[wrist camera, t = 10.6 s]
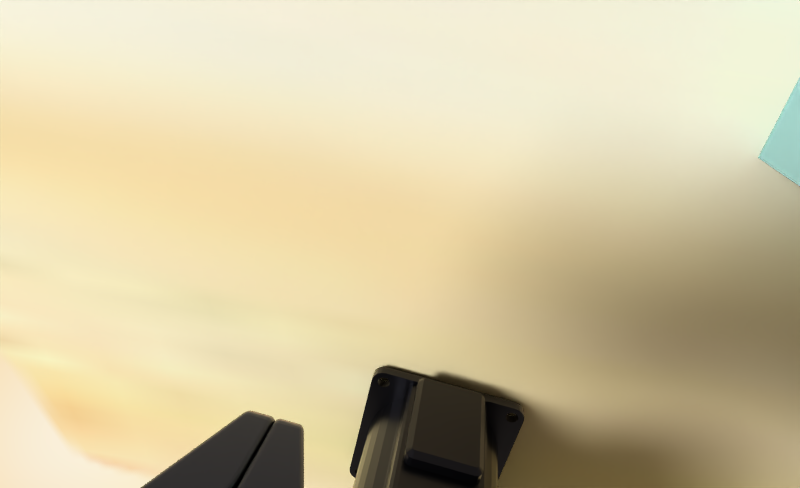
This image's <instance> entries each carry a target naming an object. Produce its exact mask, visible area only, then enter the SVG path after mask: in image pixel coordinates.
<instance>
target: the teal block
mask: <svg viewBox="0 0 800 488" xmlns="http://www.w3.org/2000/svg"><path fill="white" fill-rule="evenodd" d="M758 158H759V159H761V160H762V161H764V162H765V163H767V164H768V165H770V166H771V167H772V168H774V169H775V170H777V171H778V172H780V173H781V174H783V175H784V176H786V177H787V178H788V179H790V180H791V181H793V182H794V183H796V184H797V185H799V186H800V78H799V80H798V82H797V83H796V85H795V87H794V89H793V91H792V93H791V95H790V97H789V99H788V101H787V103H786V105H785V107H784V109H783V111H782V112H781V114H780V116H779V118H778V120H777V122H776V124H775V126H774V128H773V130H772V132H771V134H770V136H769V138H768V139H767V141H766V143H765V145H764V147H763V149H762V151H761V153H760V155H759V157H758Z"/></svg>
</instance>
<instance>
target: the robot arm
mask: <svg viewBox="0 0 800 488" xmlns="http://www.w3.org/2000/svg"><path fill="white" fill-rule="evenodd" d="M381 378H386V379H388V380H389V381H383V380H381ZM509 413H514V414H516V415H514V416H510V415H508V414H509ZM523 421H524V410H523V408H522V406H521V405H520V404H518V403H516V402H512V401H509V400H505V399H501V398H498V397H494V396H490V395H487V394H483V393H480V392H476V391H472V390H469V389H465V388H461V387H458V386H454V385H450V384H447V383H443V382H440V381H436V380H432V379H429V378H425V377H421V376H418V375H414V374H410V373H407V372H403V371H400V370H396V369H392V368H389V367H380V368H378V369H376V370H375V372H374V375H373V378H372V382H371V386H370V390H369V394H368V398H367V402H366V406H365V410H364V414H363V418H362V422H361V426H360V430H359V434H358V438H357V442H356V446H355V450H354V454H353V458H352V462H351V466H350V473H351V475H352V476H354V477H355V482H354V485H353V488H498V479H499V477H500V474H501V472H502V470H503V467H504V465H505V463H506V461H507V458H508V456H509V454H510V451H511V449H512V447H513V444H514V442H515V440H516V437H517V435H518V433H519V430H520V428H521V426H522V424H523ZM141 488H304V431H303V427H302V425H300V424H297V423H293V422H290V421H286V420H283V419H278V420H276V421H275V420H274V418H273V417H271V416H268V415H265V414H261V413H258V412H254V411H247V412H245V413H243V414H242V415H240V416H239V417H238V418H236V419H235V420H233V421H232V422H231V423H229V424H228V425H227V426H225V427H224V428H222V429H221V430H220V431H218V432H217V433H216V434H214V435H213V436H211V437H210V438H209V439H207V440H206V441H204V442H203V443H202V444H200V445H199V446H198V447H196V448H195V449H193V450H192V451H191V452H189V453H188V454H187V455H185V456H184V457H182V458H181V459H180V460H178V461H177V462H176V463H174V464H173V465H171V466H170V467H169V468H167V469H166V470H165V471H163V472H162V473H160V474H159V475H158V476H156V477H155V478H153V479H152V480H151V481H149V482H148V483H147V484H145V485H144V486H143V487H141Z"/></svg>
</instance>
